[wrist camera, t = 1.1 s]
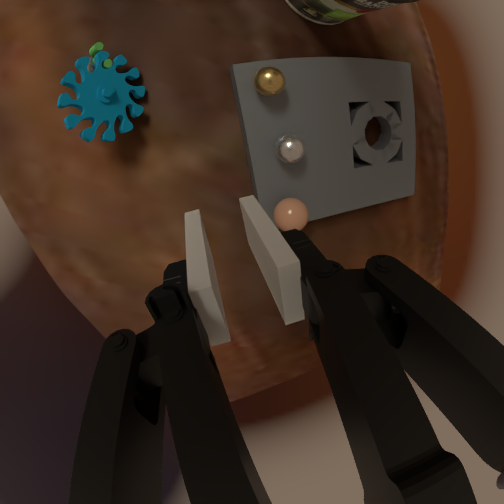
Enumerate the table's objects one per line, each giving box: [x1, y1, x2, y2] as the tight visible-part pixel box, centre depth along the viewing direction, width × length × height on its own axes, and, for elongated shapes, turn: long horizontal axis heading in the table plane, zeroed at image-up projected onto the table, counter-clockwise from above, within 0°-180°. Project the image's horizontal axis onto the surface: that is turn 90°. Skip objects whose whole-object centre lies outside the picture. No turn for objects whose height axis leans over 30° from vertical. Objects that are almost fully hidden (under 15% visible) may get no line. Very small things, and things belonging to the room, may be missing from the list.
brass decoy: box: [253, 67, 286, 96], centre depth 24 cm, size 3×3×3 cm
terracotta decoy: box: [273, 198, 309, 231], centre depth 31 cm, size 4×4×4 cm
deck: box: [229, 57, 416, 229], centre depth 31 cm, size 24×20×2 cm
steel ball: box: [275, 134, 305, 163], centre depth 28 cm, size 3×3×3 cm
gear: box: [57, 42, 145, 142], centre depth 22 cm, size 11×6×10 cm
